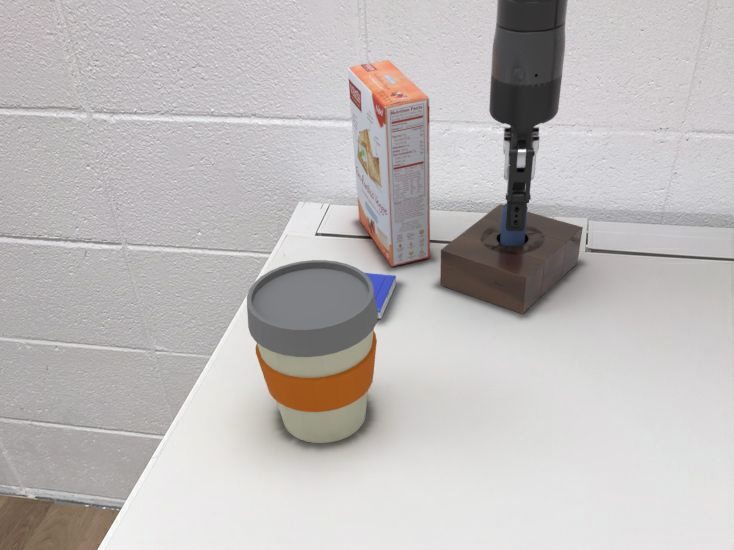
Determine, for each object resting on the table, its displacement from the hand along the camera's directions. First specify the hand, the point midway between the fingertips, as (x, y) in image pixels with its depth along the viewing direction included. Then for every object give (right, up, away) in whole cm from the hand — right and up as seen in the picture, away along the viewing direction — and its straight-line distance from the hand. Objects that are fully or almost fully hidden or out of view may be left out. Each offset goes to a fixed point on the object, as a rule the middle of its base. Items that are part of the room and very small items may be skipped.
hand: (515, 212), depth 97 cm
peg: (0, -6, +6) cm, 8 cm away
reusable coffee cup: (-23, -26, -11) cm, 36 cm away
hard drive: (-21, -9, +5) cm, 24 cm away
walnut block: (0, -6, +6) cm, 8 cm away
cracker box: (-14, +1, +14) cm, 20 cm away
